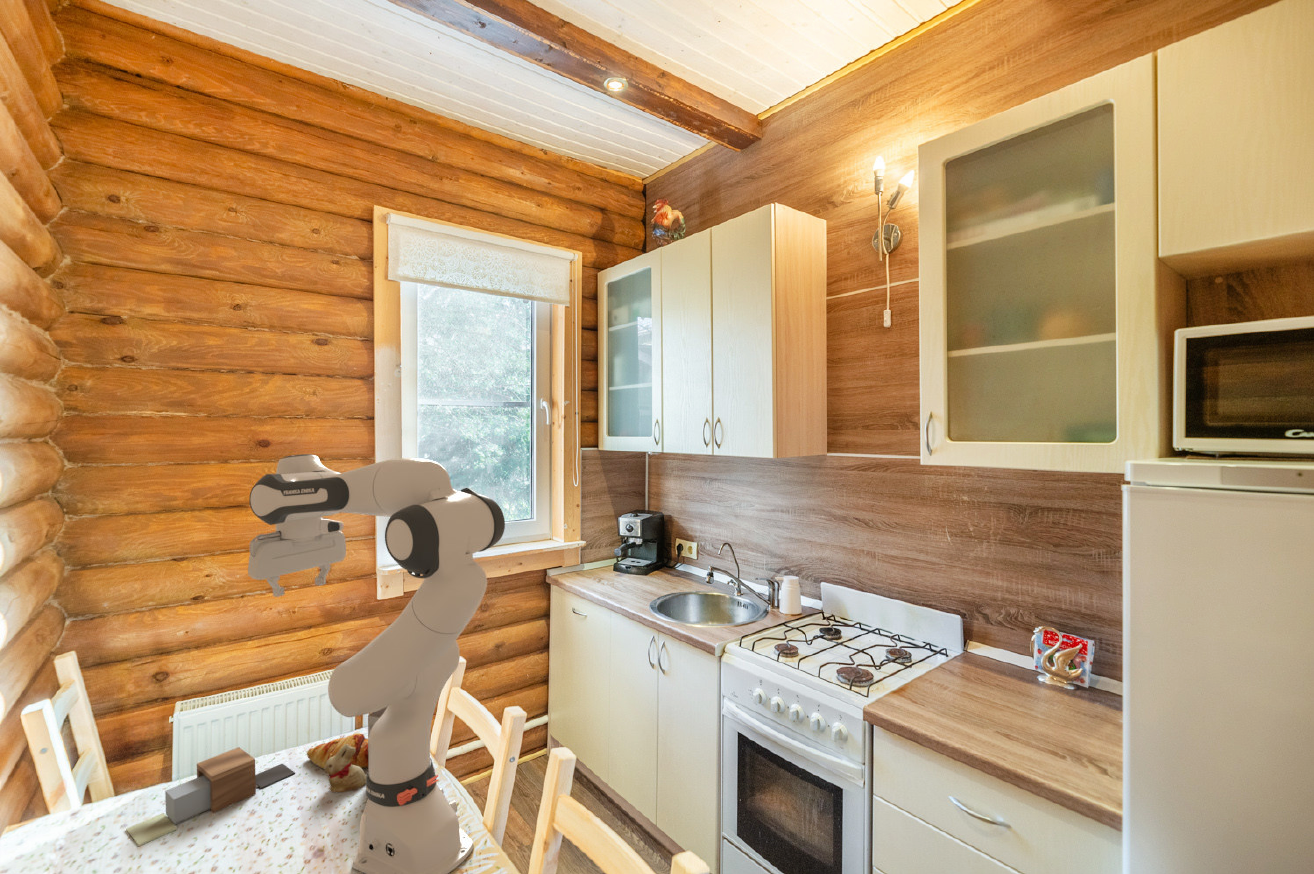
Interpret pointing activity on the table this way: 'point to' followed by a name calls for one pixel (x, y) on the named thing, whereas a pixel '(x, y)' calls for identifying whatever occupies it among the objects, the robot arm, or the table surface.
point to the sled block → (188, 799)
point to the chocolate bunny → (344, 771)
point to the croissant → (331, 748)
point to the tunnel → (217, 789)
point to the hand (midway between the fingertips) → (300, 590)
